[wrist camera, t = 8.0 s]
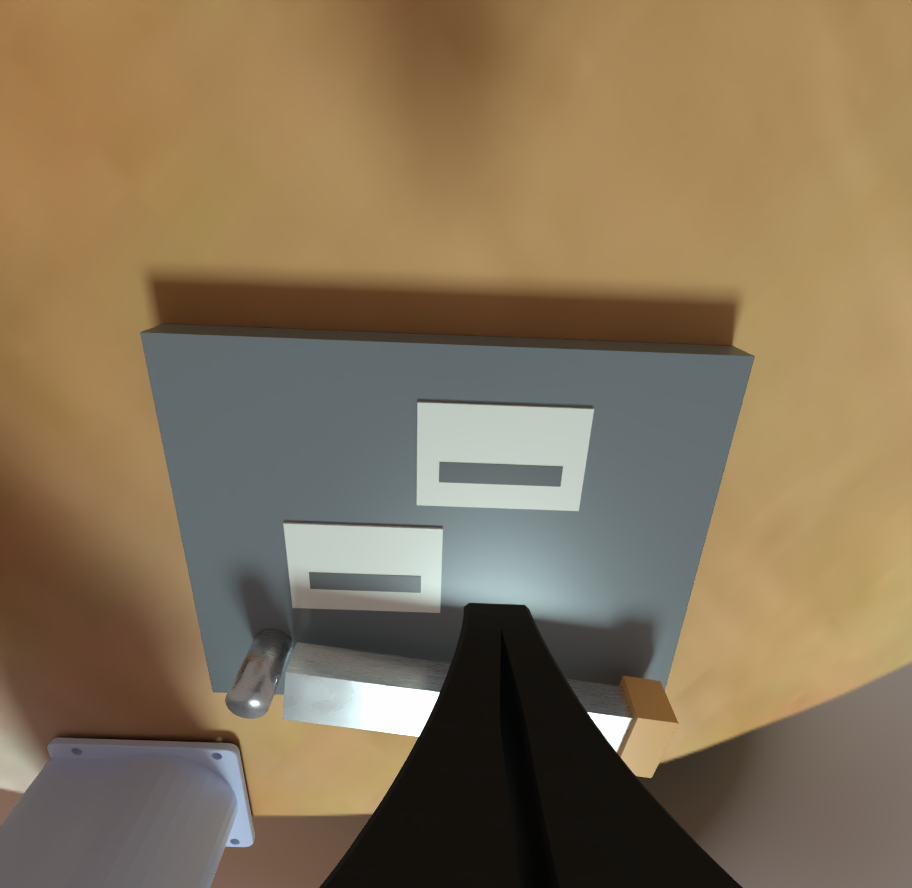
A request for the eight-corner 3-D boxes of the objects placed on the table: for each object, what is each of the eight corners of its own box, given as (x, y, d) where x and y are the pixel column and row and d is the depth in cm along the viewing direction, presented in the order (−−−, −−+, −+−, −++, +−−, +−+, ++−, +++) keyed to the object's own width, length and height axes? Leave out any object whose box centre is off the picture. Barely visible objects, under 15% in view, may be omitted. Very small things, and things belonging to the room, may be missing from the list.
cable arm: (295, 688, 22) (280, 730, 20) (299, 630, 21) (283, 670, 19) (636, 733, 23) (651, 777, 21) (660, 680, 22) (678, 723, 20)
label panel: (226, 665, 25) (179, 755, 21) (164, 323, 18) (78, 355, 14) (649, 679, 25) (686, 771, 21) (732, 346, 19) (810, 383, 14)
